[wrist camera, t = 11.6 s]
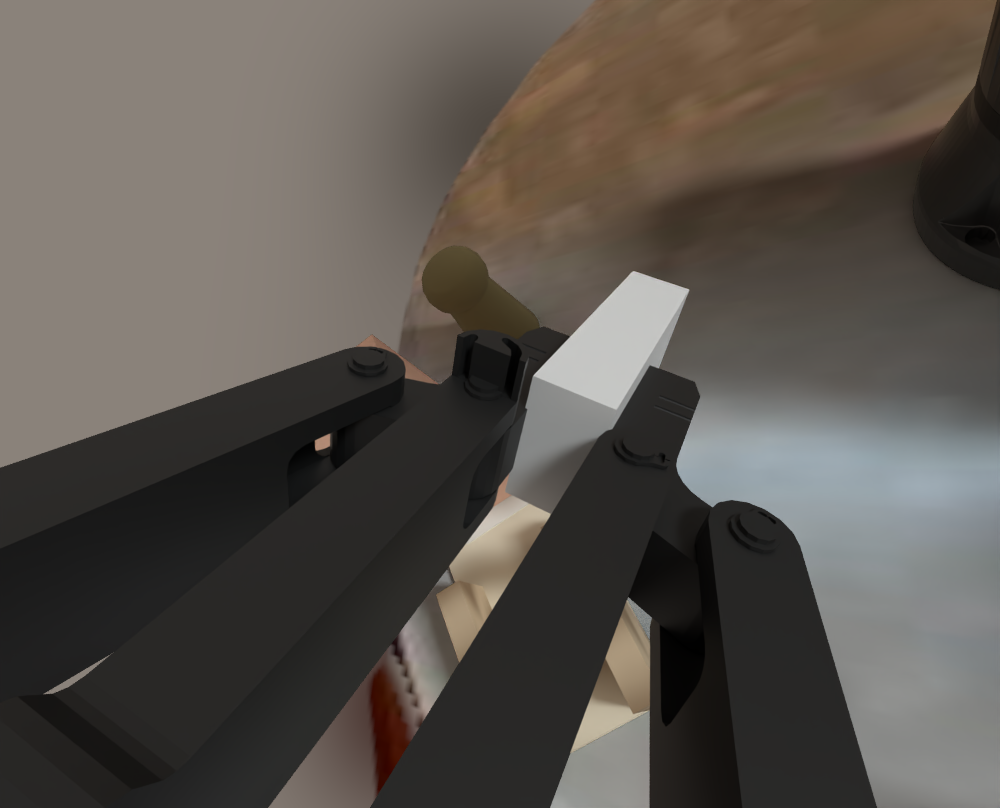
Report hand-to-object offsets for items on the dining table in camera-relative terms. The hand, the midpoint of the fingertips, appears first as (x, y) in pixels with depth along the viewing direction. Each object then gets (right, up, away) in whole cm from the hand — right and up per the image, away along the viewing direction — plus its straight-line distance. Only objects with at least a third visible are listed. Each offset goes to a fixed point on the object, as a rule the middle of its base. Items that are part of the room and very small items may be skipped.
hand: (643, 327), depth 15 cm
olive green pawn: (-3, +4, +36) cm, 36 cm away
